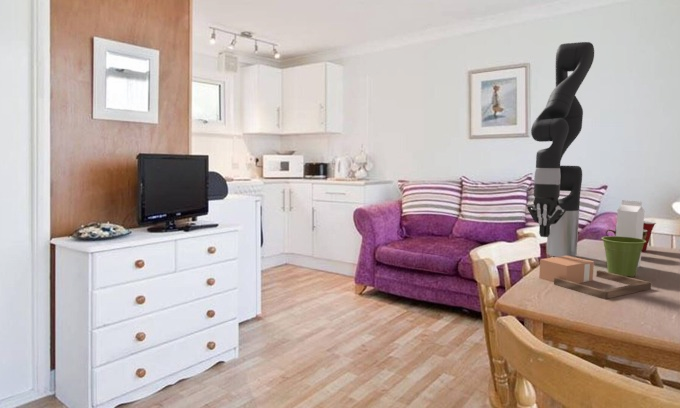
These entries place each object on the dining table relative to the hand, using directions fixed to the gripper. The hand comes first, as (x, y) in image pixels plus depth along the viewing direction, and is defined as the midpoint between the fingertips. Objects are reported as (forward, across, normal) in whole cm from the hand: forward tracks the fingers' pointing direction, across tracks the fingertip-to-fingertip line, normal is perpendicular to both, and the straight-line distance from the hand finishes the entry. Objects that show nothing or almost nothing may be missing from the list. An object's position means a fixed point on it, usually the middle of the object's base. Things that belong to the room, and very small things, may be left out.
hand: (544, 236), depth 145 cm
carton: (+12, +10, -2) cm, 15 cm away
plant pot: (+11, +14, +18) cm, 26 cm away
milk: (+11, +8, +31) cm, 34 cm away
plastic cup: (+10, -6, +61) cm, 62 cm away
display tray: (+11, +19, 0) cm, 22 cm away
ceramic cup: (+11, -2, +46) cm, 47 cm away
